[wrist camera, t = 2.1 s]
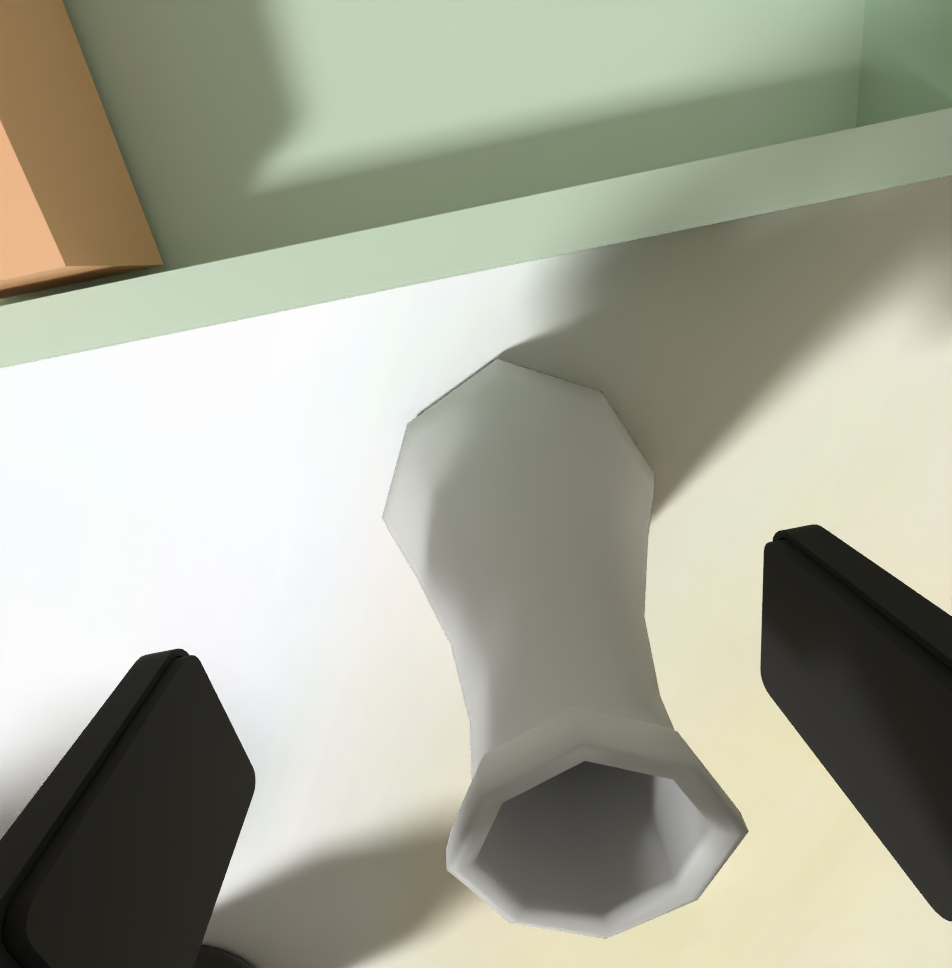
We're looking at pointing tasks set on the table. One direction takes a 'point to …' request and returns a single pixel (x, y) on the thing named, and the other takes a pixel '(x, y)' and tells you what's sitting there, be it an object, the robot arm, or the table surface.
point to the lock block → (59, 163)
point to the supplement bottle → (217, 959)
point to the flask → (554, 657)
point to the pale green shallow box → (471, 138)
